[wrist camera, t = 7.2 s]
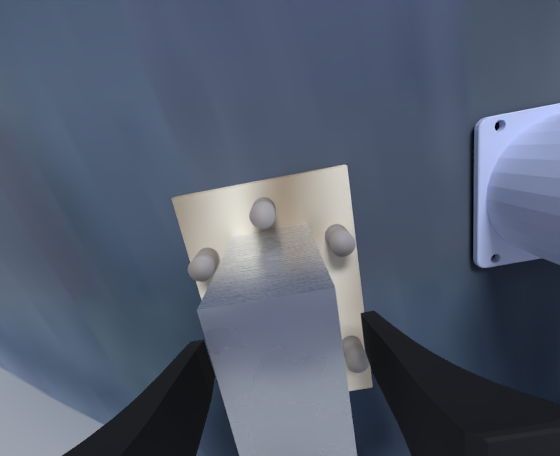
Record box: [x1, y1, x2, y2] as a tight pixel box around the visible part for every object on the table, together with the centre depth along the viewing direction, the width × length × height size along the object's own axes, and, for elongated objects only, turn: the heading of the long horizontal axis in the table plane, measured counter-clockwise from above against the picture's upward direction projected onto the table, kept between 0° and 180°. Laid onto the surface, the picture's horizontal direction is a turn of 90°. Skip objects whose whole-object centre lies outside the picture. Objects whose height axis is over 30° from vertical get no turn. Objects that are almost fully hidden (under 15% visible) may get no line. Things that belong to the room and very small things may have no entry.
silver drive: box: [197, 224, 357, 456], centre depth 12 cm, size 4×8×7 cm, turn 10°
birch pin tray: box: [171, 165, 373, 391], centre depth 15 cm, size 9×14×2 cm, turn 10°
